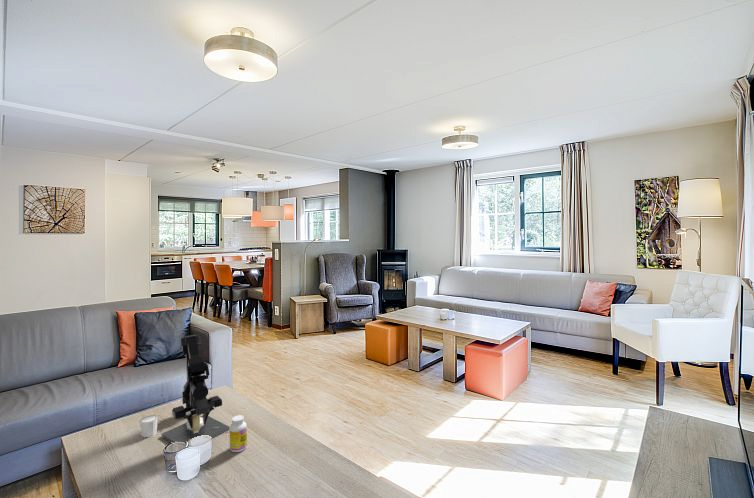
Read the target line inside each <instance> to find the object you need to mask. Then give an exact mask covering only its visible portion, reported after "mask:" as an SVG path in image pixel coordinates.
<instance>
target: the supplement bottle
mask: <svg viewBox="0 0 754 498" xmlns="http://www.w3.org/2000/svg"><path fill="white" fill-rule="evenodd" d="M247 427H248V425H247V423H246V422H245V417H244V415H241V414H240V415H239V414H238V415H235V416H233V417H232V418H231V424H230V425H229V430H228V431H229V450H230V451H231V452H232V453H241V452H243V451H244V450H246V449H247V447H248V433H247V432H248V431H247V430H248V429H247Z"/></svg>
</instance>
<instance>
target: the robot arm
mask: <svg viewBox="0 0 754 498" xmlns="http://www.w3.org/2000/svg"><path fill="white" fill-rule="evenodd" d="M201 341H202V340H201V335H197V334H193V335H186V336H185V335H184V336H182V338H180V339H179V346H180V347H181V349H182V352H183V353H184V355H185V366H186V367H185V369H186V382H185V384H184V385H183V391H182V392H181V401H182V405H179V406H176V407H173V409H172V410H171V415H172V416H173V419H174V420H178V419H186V420H187V422H188V423H189V425H190V427H191V429H192V428H193V424H192V415H194V414H197V415H199V416H203V424H204V425H205V423H206V421H207V418H208V416H209V415H210V413H211V412H212V411H214V409H215V408H218V407H222V406H223V400H222V398H221V397H219V396H218V395H215V396H211V397H209V398H207V396H208V394H209V389H208V386H207V384H206V380H207V379H209V377H210V369H209V368H210V367H209V365H208V363H207V362H206V360H205V357H203V356H202V355H201V354H200V353H201V352H200V344H201ZM183 405H185V407H184V406H183Z"/></svg>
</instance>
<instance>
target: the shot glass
mask: <svg viewBox="0 0 754 498" xmlns="http://www.w3.org/2000/svg"><path fill="white" fill-rule="evenodd" d="M139 428H140V434H141V437H142V438H143V437H144V438H145V437H148V438H151V437H153V436H155V435H156V434H157V432H158V415H155V414H154V415H151V414H150V415H147V416H144V417H142V418H140V420H139ZM145 439H146V438H145Z"/></svg>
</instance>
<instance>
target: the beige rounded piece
mask: <svg viewBox="0 0 754 498" xmlns="http://www.w3.org/2000/svg"><path fill="white" fill-rule="evenodd" d="M186 423H187V429H188V430H192V431H194V433H197V432H199V429H200V428H201V427H203V426H204V424H203V418H202V417H200V415H197V414H194V415H192V424H193V428H192V429H191V427H190V425H189V423H188V421H186Z"/></svg>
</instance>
